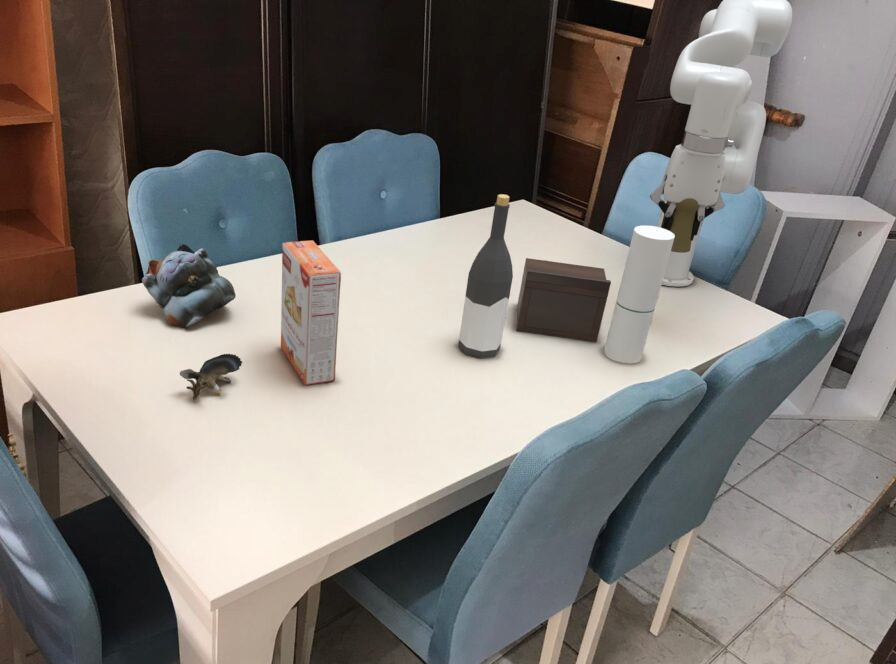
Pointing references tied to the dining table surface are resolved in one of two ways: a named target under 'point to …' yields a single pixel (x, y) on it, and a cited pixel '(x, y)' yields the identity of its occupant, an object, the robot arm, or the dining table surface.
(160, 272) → the lucky cat figurine
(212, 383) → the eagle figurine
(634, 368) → the dining table surface
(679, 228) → the olive brown pepper mill
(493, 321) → the wine bottle
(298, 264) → the cracker box
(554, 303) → the dark wooden chest
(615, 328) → the cylindrical container
